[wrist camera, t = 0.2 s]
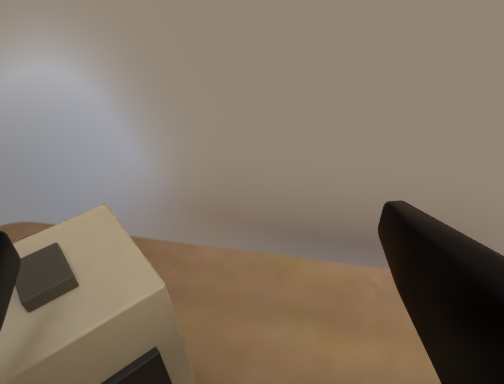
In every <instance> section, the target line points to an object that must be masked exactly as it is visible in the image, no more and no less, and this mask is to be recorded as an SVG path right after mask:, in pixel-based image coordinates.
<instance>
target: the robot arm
mask: <svg viewBox="0 0 504 384" xmlns="http://www.w3.org/2000/svg"><path fill="white" fill-rule="evenodd" d="M378 234H379V238H380V241H381V244H382V247H383V250H384V253H385V256H386V259H387V261H388V264H389V267H390V270H391V273H392V276H393V279H394V282H395V285H396V287H397V290H398V292H399V294H400V297H401V299H402V301H403V303H404V305H405V307H406V309H407V311H408V314H409V316H410V318H411V320H412V322H413V324H414V326H415V328H416V330H417V333H418V335H419V337H420V339H421V341H422V343H423V345H424V347H425V349H426V352H427V354H428V356H429V358H430V360H431V362H432V364H433V366H434V368H435V371H436V373H437V375H438V377H439V379H440V381H441V383H442V384H504V256H503V255H500V254H499V253H497V252H495V251H493V250H491V249H490V248H488V247H486V246H484V245H483V244H481V243H479V242H477V241H475V240H473V239H472V238H470V237H468V236H466V235H464V234H463V233H461V232H459V231H457V230H455V229H453V228H452V227H450V226H448V225H446V224H444V223H443V222H441V221H439V220H437V219H435V218H433V217H431V216H430V215H428V214H426V213H424V212H423V211H421V210H419V209H417V208H415V207H413V206H412V205H410V204H408V203H406V202H404V201H389V202H386V203H385V204H384V206H383V210H382V214H381V218H380V222H379V225H378ZM20 265H21V260H20V256H19V254H18V252H17V250H16V249H15V247H14V245H13V244H12V242H11V240H10V238H9V237H8V235H7V234H6V233H5V232H2V231H0V331H1V328H2V326H3V323H4V320H5V317H6V313H7V310H8V307H9V303H10V300H11V296H12V293H13V290H14V286H15V283H16V279H17V276H18V273H19V269H20Z"/></svg>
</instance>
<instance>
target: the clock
mask: <svg viewBox="0 0 504 384" xmlns="http://www.w3.org/2000/svg"><path fill="white" fill-rule="evenodd" d="M13 245H14V247H15V249H16V250H17V252H18V254H19V256H20V260H21V265H20V269H19V273H18V276H17V279H16V283H15V286H14V290H13V293H12V296H11V300H10V303H9V307H8V310H7V313H6V317H5V320H4V323H3V326H2V328H1V331H0V384H196V381H195V378H194V375H193V371H192V368H191V365H190V362H189V358H188V355H187V352H186V349H185V346H184V342H183V339H182V336H181V333H180V329H179V326H178V323H177V320H176V316H175V313H174V310H173V307H172V303H171V300H170V297H169V294H168V290H167V287H166V284H165V283H164V281H163V280H162V279H161V277H160V276H159V275H158V273H157V272H156V271H155V269H154V268H153V267H152V265H151V264H150V263H149V261H148V260H147V259H146V257H145V256H144V255H143V253H142V252H141V251H140V249H139V248H138V247H137V245H136V244H135V243H134V241H133V240H132V239H131V237H130V236H129V235H128V233H127V232H126V231H125V230H124V228H123V227H122V225H121V224H120V223H119V221H118V220H117V219H116V217H115V216H114V215H113V213H112V212H111V211H110V209H109V208H108V207H107V206H106V205H105V204H103V205H101V206H98V207H96V208H94V209H92V210H89V211H87V212H85V213H83V214H80V215H78V216H75V217H73V218H71V219H69V220H66V221H64V222H62V223H59V224H57V225H55V226H52V227H50V228H48V229H46V230H43V231H41V232H39V233H36V234H34V235H32V236H29V237H27V238H25V239H23V240H20V241H18V242H16V243H13Z"/></svg>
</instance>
